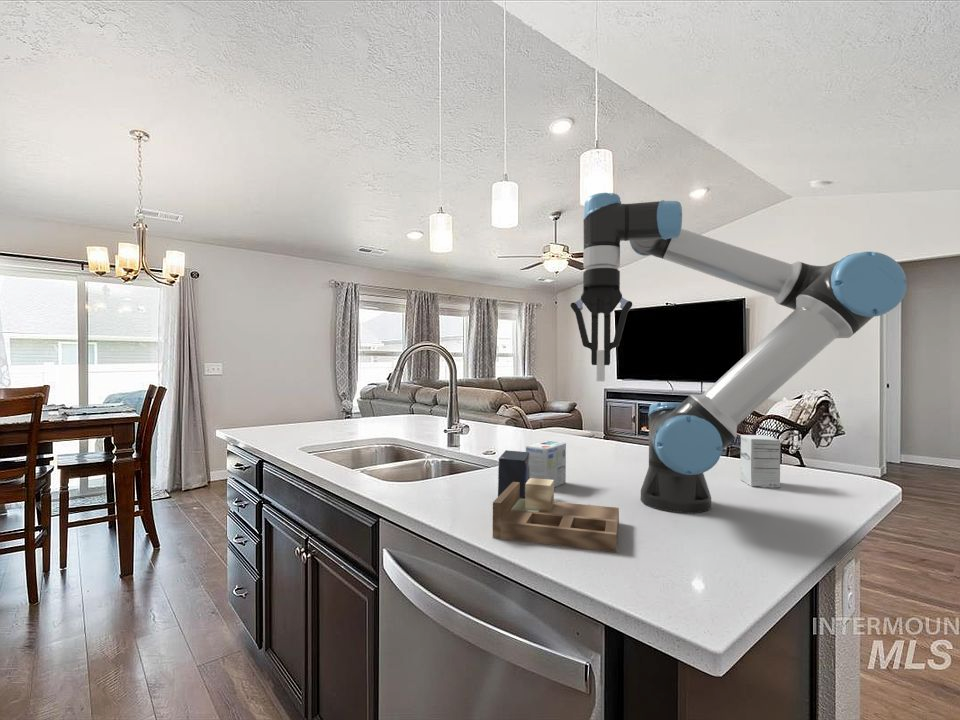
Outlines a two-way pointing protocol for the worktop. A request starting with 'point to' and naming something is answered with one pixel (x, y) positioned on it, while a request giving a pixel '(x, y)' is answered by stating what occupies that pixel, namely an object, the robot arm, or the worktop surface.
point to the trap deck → (555, 523)
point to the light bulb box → (548, 461)
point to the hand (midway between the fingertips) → (600, 380)
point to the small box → (513, 470)
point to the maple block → (539, 494)
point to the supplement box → (760, 460)
